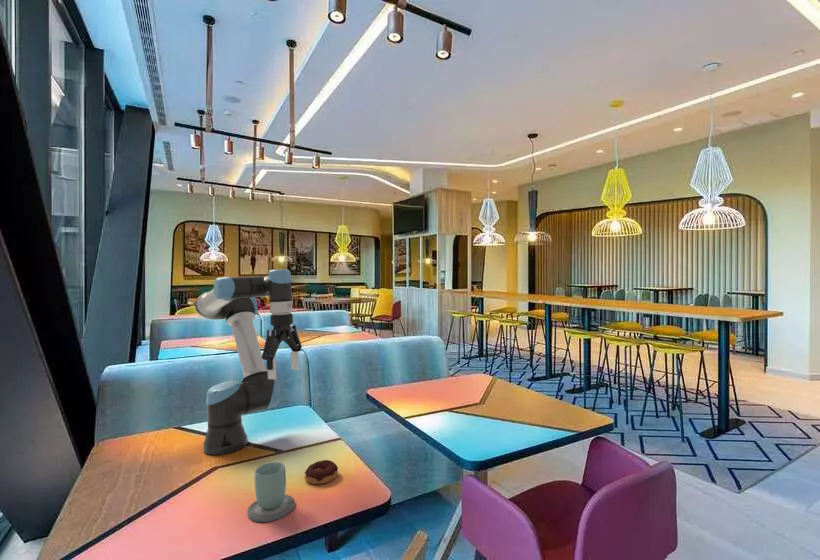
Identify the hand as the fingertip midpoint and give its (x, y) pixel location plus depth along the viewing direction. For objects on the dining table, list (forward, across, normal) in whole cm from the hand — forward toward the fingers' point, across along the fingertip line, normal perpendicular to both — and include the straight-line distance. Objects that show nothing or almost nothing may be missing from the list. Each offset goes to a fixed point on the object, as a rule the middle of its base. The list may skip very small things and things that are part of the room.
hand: (284, 374), depth 142 cm
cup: (+28, -30, -15) cm, 44 cm away
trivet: (+29, -30, -15) cm, 44 cm away
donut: (+29, -12, -20) cm, 37 cm away
